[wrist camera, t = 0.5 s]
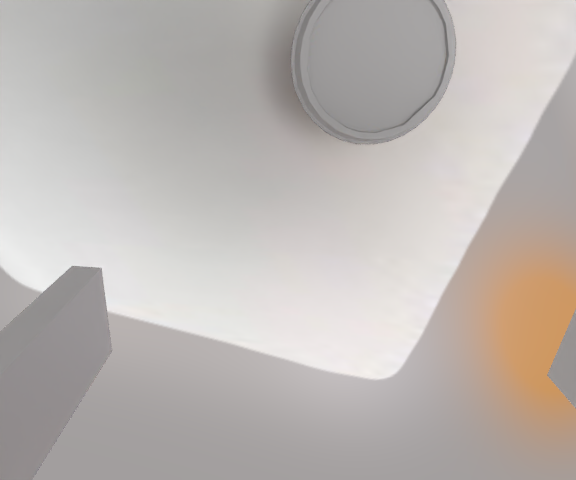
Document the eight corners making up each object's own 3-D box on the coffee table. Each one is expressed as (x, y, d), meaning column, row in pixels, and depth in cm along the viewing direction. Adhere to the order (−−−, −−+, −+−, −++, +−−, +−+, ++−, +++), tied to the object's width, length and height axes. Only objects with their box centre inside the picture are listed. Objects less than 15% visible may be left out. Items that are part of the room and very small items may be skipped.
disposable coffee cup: (305, 137, 35) (314, 166, 24) (275, 20, 31) (270, -12, 20) (411, 108, 34) (472, 123, 23) (393, -17, 30) (456, -71, 19)
